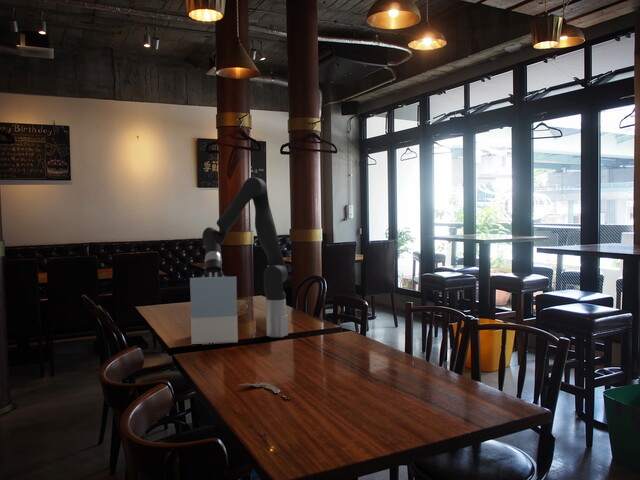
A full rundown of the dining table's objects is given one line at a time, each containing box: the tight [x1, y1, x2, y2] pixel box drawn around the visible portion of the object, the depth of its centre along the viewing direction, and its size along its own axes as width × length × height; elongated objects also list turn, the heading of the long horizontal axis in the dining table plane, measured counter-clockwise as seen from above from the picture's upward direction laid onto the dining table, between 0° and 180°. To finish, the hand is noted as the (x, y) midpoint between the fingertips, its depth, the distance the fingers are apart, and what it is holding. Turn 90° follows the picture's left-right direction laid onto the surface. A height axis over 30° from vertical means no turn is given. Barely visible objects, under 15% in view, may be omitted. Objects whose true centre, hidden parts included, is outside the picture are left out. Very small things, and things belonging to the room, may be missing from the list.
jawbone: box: [238, 381, 291, 400], centre depth 161 cm, size 9×20×2 cm, turn 57°
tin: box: [237, 299, 250, 317], centre depth 286 cm, size 15×3×8 cm, turn 143°
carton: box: [190, 316, 239, 345], centre depth 230 cm, size 18×20×12 cm
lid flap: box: [189, 276, 238, 319], centre depth 218 cm, size 18×20×1 cm
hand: (213, 294), depth 219 cm, fingers closed
